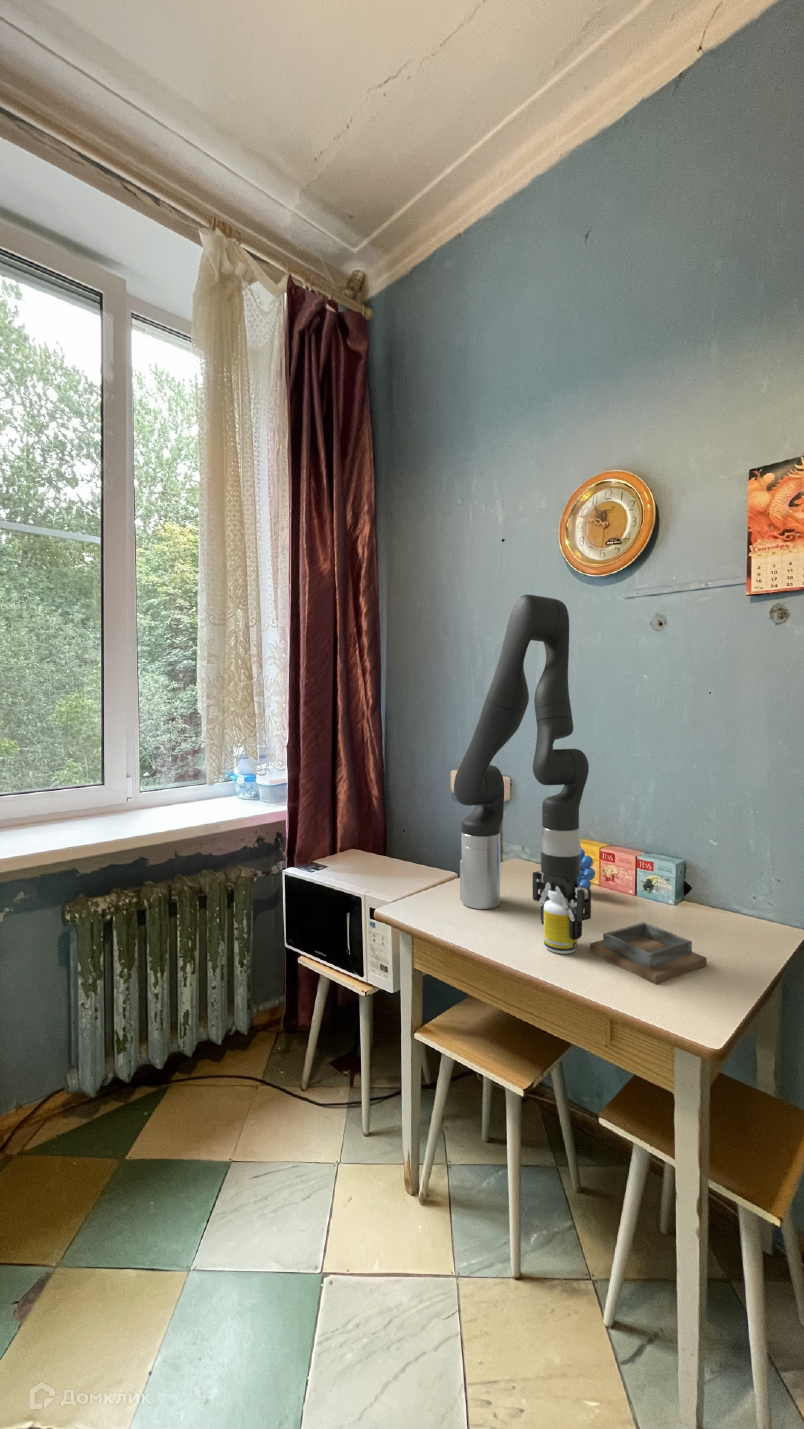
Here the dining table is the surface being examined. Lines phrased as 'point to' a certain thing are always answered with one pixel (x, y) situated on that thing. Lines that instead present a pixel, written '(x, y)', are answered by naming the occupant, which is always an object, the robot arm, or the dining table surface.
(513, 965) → the dining table surface
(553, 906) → the pill bottle
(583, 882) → the grapes
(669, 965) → the collar board
